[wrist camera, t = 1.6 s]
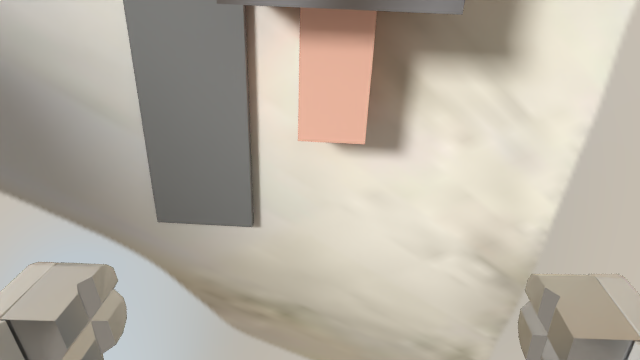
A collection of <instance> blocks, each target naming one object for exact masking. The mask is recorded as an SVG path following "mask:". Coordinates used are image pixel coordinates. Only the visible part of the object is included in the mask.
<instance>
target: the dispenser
mask: <svg viewBox="0 0 640 360" xmlns="http://www.w3.org/2000/svg"><path fill="white" fill-rule="evenodd" d="M464 3H465V0H217V4H234V5H256V6H279V7H302V8H325V9H348V10H370V11H393V12H416V13H439V14H463V8H464Z"/></svg>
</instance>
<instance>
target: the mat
mask: <svg viewBox="0 0 640 360" xmlns="http://www.w3.org/2000/svg"><path fill="white" fill-rule="evenodd" d="M123 3H124V10H125V16H126V22H127V29H128V35H129V42H130V48H131V54H132V61H133V67H134V73H135V80H136V86H137V93H138V99H139V105H140V112H141V118H142V125H143V131H144V137H145V144H146V150H147V157H148V163H149V169H150V176H151V182H152V189H153V195H154V201H155V208H156V214H157V220H158V222H167V223H186V224H205V225H223V226H242V227H252V226H253V223H254V222H253V196H252V170H251V144H250V118H249V91H248V65H247V39H246V13H245V5H234V4H217V0H123Z"/></svg>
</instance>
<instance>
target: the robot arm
mask: <svg viewBox="0 0 640 360" xmlns="http://www.w3.org/2000/svg"><path fill="white" fill-rule="evenodd" d="M117 282H118V279H117V276H116V274H115V271H114V268H113V267H111V266H109V265H106V264H105V265H104V264H83V263H54V262H37V263H33V264H30V265H28V267H26V268H25V269H24V270H23V271H22V272H21V273H20V274H19V275H18V276H17V277H16V278H14V279H13V280H12V281H11V282H10V283H9V284H8V285H7V286H6V287H5V288H4V289H3V290H2V291H1V292H0V360H104V358H103V353H104V352H106V351H107V350H109V349H110V348H112V347H113V346H115V345H116V344H117V342H118V340H119V338H120V337H121V335H122V334H123V331H124V327H125V323H126V319H127V314H126V313H127V312H126V304H125V301H124V298H123V297H122V296H121V295H120V294H119V293H118V292H116V291H115V290H114V287H115V285H116V283H117ZM525 292H526V294H527V296H528V298H529V300H530V301H529V302H528V303H527V304H526V305H525V306H523V307H522V308H521V309H520V315H519V320H518V333H519V340H520V345H521V349H522V351H523V354H524V356H525V359H526V360H640V294H639V293H638V292H637V291H636V290H635V288H634V287H633V286H632V285H631V284H630V283H629V281H628V280H627V279H626V278H625V277H623V276H621V275H619V274H588V275H573V274H571V275H570V274H531V275H530V277H529V278H528V280H527V284H526V288H525Z"/></svg>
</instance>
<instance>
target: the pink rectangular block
mask: <svg viewBox="0 0 640 360" xmlns="http://www.w3.org/2000/svg"><path fill="white" fill-rule="evenodd" d="M376 18H377V11H370V10H348V9H325V8H302V7H300V53H299V113H298V141H311V142H331V143H350V144H365V138H366V127H367V116H368V105H369V94H370V83H371V73H372V62H373V51H374V40H375V29H376Z"/></svg>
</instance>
